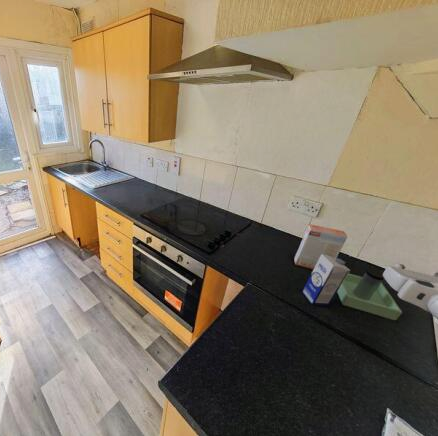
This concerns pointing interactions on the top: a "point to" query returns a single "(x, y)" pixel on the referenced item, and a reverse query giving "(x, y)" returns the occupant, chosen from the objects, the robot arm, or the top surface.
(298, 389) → the top surface
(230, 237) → the top surface
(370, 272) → the food flask
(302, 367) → the top surface
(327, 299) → the milk carton
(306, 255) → the cracker box
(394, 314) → the square green tray
